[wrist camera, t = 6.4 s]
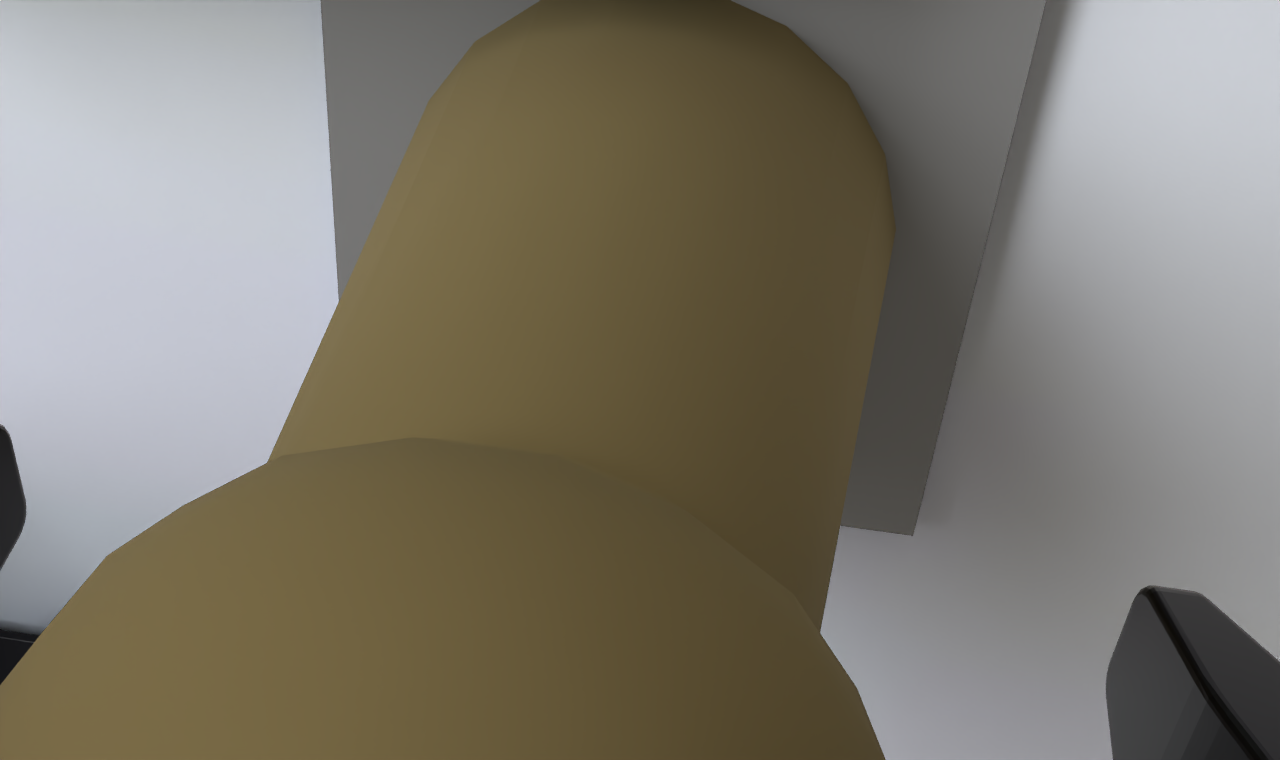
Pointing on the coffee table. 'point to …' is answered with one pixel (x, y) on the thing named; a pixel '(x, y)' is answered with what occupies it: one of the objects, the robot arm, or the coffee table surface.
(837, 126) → the cork
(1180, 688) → the robot arm
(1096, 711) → the coffee table surface
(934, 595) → the coffee table surface
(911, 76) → the pad
